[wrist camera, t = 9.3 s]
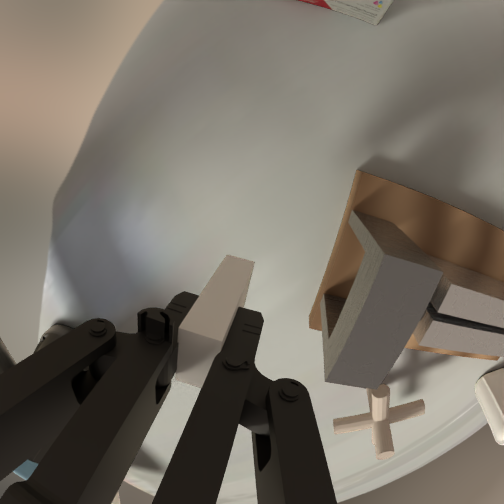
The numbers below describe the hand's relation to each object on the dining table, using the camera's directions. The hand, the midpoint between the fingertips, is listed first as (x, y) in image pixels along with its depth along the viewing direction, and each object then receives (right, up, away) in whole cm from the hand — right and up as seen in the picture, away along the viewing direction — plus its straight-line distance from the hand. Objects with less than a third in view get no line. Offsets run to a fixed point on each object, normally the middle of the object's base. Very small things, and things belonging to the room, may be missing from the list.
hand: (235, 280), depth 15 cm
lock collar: (+9, +1, +6) cm, 11 cm away
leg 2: (+22, -4, +6) cm, 23 cm away
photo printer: (+37, -16, +11) cm, 42 cm away
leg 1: (+22, -2, +5) cm, 23 cm away
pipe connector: (+15, -14, +14) cm, 25 cm away
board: (+20, -1, +8) cm, 22 cm away
